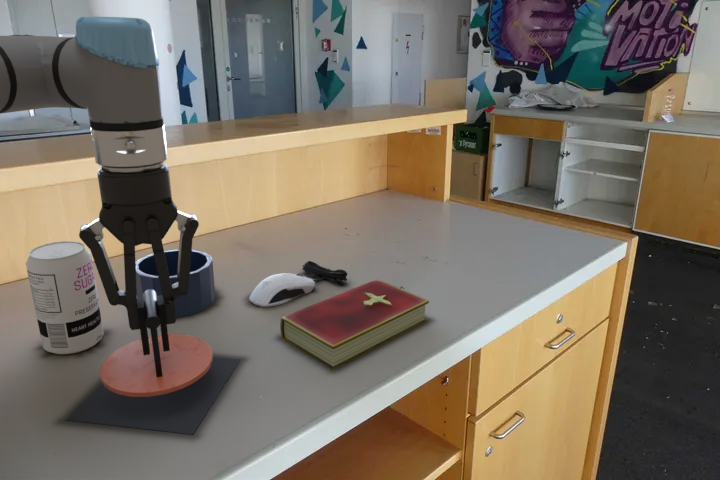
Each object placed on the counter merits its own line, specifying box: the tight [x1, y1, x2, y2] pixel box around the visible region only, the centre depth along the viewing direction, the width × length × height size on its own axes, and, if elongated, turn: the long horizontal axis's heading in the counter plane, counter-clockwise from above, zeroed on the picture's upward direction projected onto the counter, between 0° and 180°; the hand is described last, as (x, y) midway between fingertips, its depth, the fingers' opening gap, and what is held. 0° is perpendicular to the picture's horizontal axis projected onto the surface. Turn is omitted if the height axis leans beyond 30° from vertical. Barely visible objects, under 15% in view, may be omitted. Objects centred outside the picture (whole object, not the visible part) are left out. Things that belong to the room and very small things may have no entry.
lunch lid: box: [99, 289, 214, 397], centre depth 69 cm, size 14×14×10 cm
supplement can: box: [25, 240, 105, 355], centre depth 80 cm, size 8×8×15 cm
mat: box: [65, 356, 241, 436], centre depth 72 cm, size 16×16×1 cm
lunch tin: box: [135, 248, 216, 319], centre depth 94 cm, size 13×13×8 cm
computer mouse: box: [248, 260, 348, 308], centre depth 100 cm, size 10×18×4 cm, turn 136°
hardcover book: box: [279, 278, 430, 371], centre depth 87 cm, size 12×21×4 cm, turn 135°
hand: (156, 347), depth 70 cm, fingers closed on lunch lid, 2 cm apart
